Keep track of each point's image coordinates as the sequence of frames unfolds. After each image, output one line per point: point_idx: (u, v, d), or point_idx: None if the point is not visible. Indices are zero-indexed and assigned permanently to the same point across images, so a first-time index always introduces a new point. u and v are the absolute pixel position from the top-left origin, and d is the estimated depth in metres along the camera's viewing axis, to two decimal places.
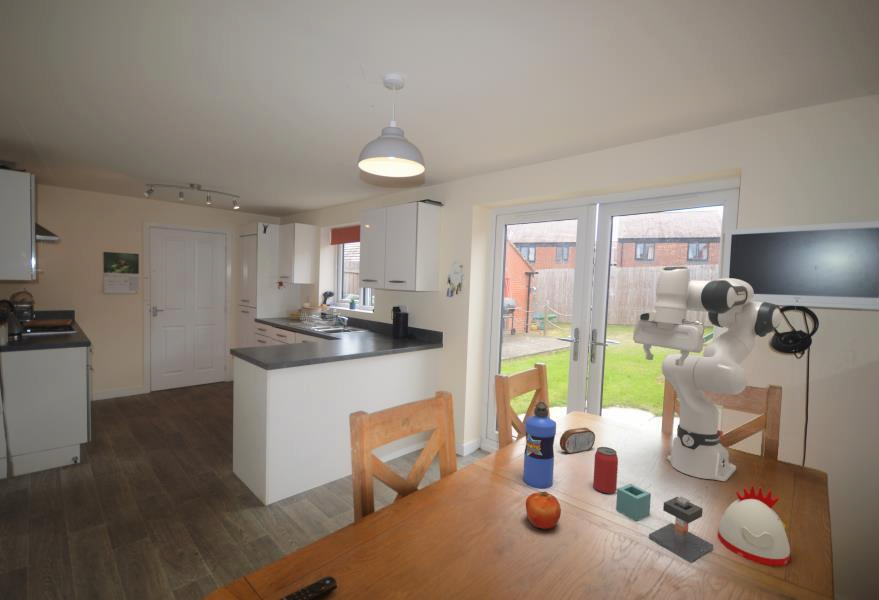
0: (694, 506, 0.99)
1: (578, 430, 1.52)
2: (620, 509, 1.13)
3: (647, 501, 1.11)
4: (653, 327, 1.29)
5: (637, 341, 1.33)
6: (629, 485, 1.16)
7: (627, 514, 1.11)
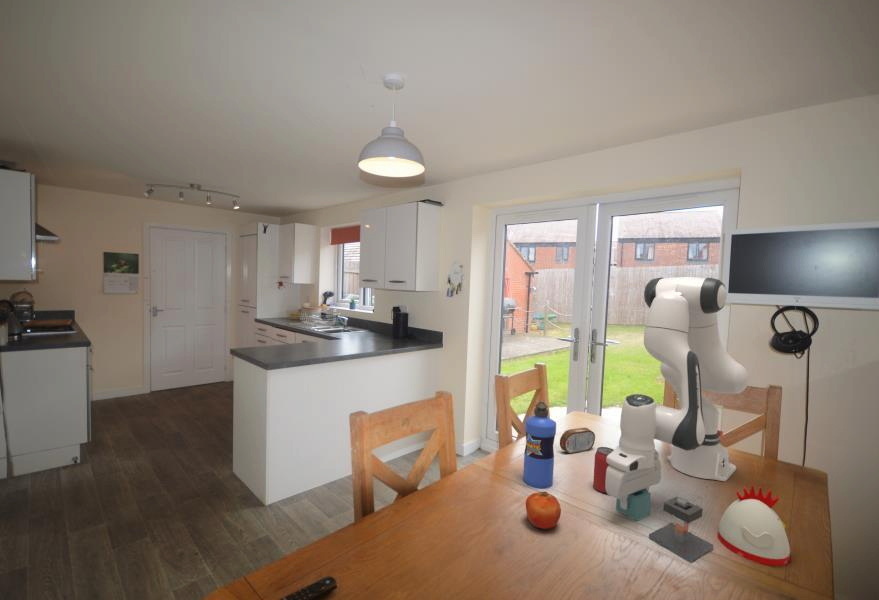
0: (694, 506, 0.99)
1: (578, 430, 1.52)
2: (620, 509, 1.13)
3: (647, 501, 1.11)
4: (633, 473, 1.09)
5: (621, 496, 1.07)
6: None
7: (627, 514, 1.11)
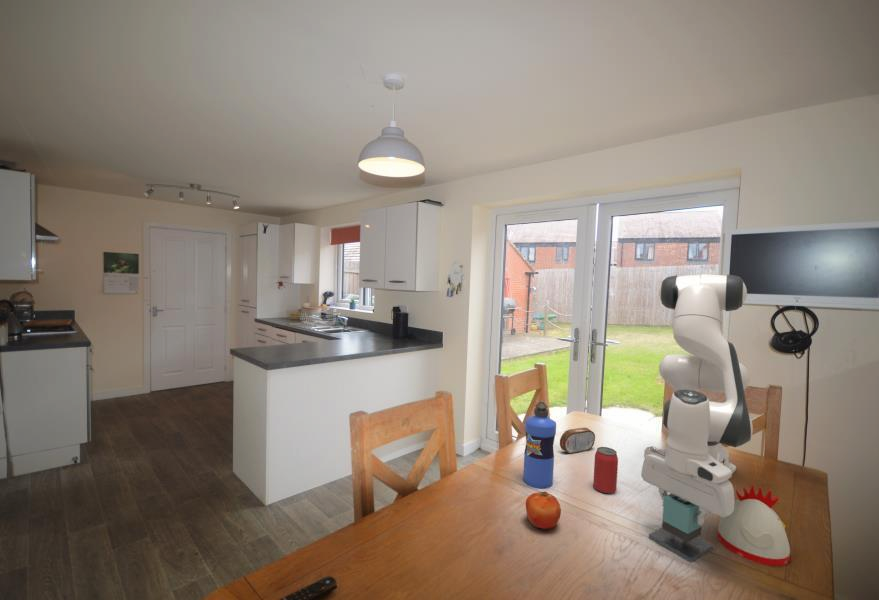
0: None
1: (578, 430, 1.52)
2: (690, 529, 0.96)
3: None
4: None
5: None
6: (669, 498, 1.00)
7: (695, 527, 0.97)
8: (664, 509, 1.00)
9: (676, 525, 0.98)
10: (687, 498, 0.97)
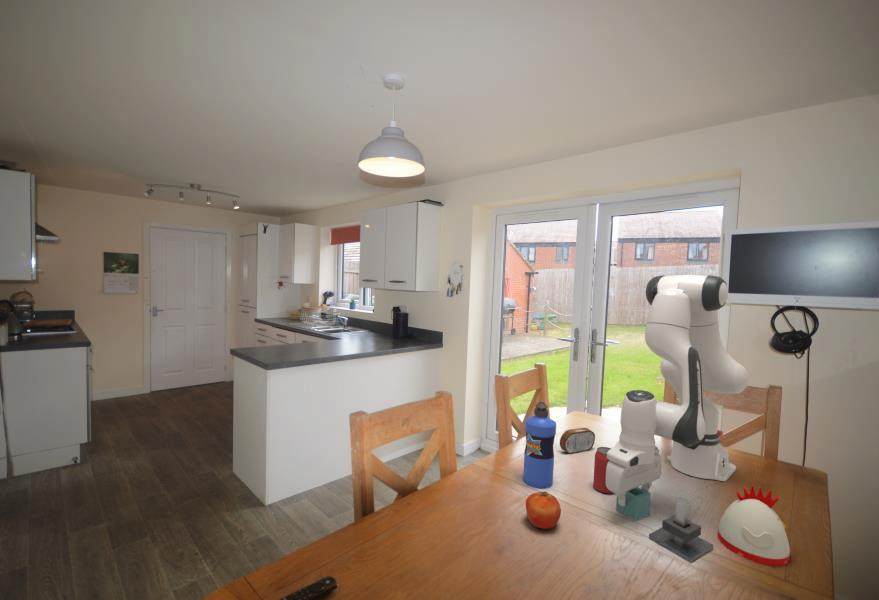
0: (693, 524, 0.99)
1: (578, 430, 1.52)
2: (620, 509, 1.13)
3: (647, 500, 1.11)
4: (634, 469, 1.09)
5: (621, 492, 1.07)
6: None
7: (627, 514, 1.11)
8: None
9: None
10: None
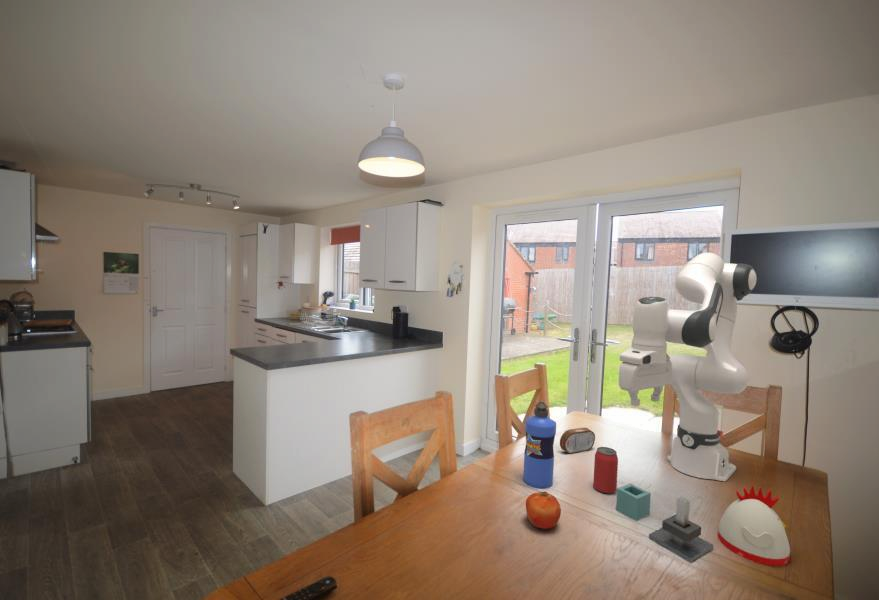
0: (693, 524, 0.99)
1: (578, 430, 1.52)
2: (620, 509, 1.13)
3: (647, 500, 1.11)
4: (646, 369, 1.12)
5: (634, 389, 1.10)
6: (629, 485, 1.16)
7: (627, 514, 1.11)
8: None
9: None
10: None
